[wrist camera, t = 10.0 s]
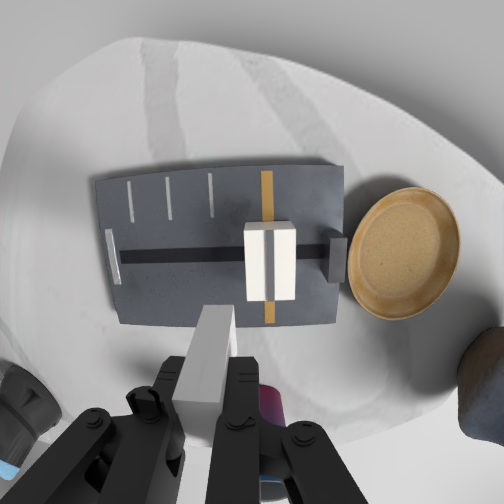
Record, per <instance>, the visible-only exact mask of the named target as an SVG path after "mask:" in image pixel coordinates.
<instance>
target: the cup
mask: <svg viewBox="0 0 504 504" xmlns="http://www.w3.org/2000/svg"><path fill="white" fill-rule="evenodd" d="M259 406H260V414H261V415H262V417H263V418H264V419H265V420H266V421H268V422H270V423H272V424H275V425H279V426H284V427H286V425H285V419H284V413H283V407H282V402H281V396H280V393H279V392H278V390H276V389H275V388H273V387H270V386H265V385H260V386H259ZM260 484H261V502H273V501H279V500H283V499H286V498H287V496H286V493H285V491H284V488H283V486H282V483H281V480H280V479H279V478H274V477H270V476H265V475H261V474H260Z"/></svg>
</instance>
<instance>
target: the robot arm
mask: <svg viewBox="0 0 504 504" xmlns="http://www.w3.org/2000/svg"><path fill="white" fill-rule="evenodd" d="M236 355H237V341H236V328H235V315H234V305H204V307H203V309H202V312H201V315H200V318H199V321H198V323H197V326H196V329H195V332H194V335H193V338H192V341H191V344H190V347H189V349H188V352H187V355H186V357H182V356H170V357H169V358H168V359H167V360H166V361H164V362H163V364H162V366H161V368H160V371H159V373H158V375H157V379H156V380H155V383H154V385H153V387H151V386H141V387H138V388H135V389H133V390H132V391H130V392H129V393H128V394H127V395H126V399H127V401H128V404H129V406H130V408H131V410H132V412H133V414H131V415H126V416H113V417H111V416H110V414H109V413H108V412H107V411H106V410H105V409H102V408H90V409H87V410H85V411H84V412H83V413H81V414H80V415H79V416H78V417H77V418H76V420H75V421H74V422H73V423H72V424H71V425H70V426H69V427H68V428H67V429H66V430H65V431H64V432H63V433H62V434H61V435H60V436H59V437H58V438H57V440H56V441H55V442H54V443H53V444H52V445H51V446H50V447H49V448H48V449H47V450H46V451H45V452H44V454H42V455H41V457H40V458H39V459H38V460H37V461H36V462H35V463H34V464H33V465H32V466H31V467H30V468H29V470H27V472H26V473H25V474H24V475H23V476H22V477H21V478H20V479H19V480H18V481H17V482H16V483H15V484H14V486H13V487H12V488H11V489H10V490H9V491H8V492H7V493H6V494H5V495H4V496H3V498H2V499H1V500H0V504H176V501H177V496H178V491H179V486H180V481H181V476H182V471H183V466H184V461H185V451H184V449H183V446H184V442H185V439H186V442H187V444H188V446H200V447H213V448H212V456H211V463H210V470H209V477H208V485H207V492H206V500H205V504H261V484H260V474H261V475H265V476H270V477H274V478H279V479H280V480H281V483H282V486H283V488H284V491H285V493H286V496H287V498H288V500H289V503H290V504H368V502H367V501H366V499H365V497H364V496H363V494H362V492H361V491H360V489H359V487H358V486H357V484H356V482H355V481H354V479H353V477H352V476H351V474H350V473H349V471H348V470H347V467H346V466H345V464H344V462H343V461H342V459H341V457H340V456H339V454H338V452H337V451H336V449H335V447H334V445H333V444H332V442H331V440H330V439H329V437H328V435H327V433H326V432H325V430H324V429H323V428H322V427H321V426H320V425H318V424H316V423H314V422H311V421H297V422H295V423H292V424H290V425H289V426H288V427H284V426H279V425H275V424H272V423H270V422H268V421H266V420H265V419H264V418H263V417H262V415H261V414H260V406H259V365H258V363H257V361H256V360H255V358H254V357H236ZM61 417H62V412H61V409H60V407H59V405H58V403H57V402H56V400H55V399H54V397H53V396H52V395H51V394H50V392H49V391H48V390H47V389H46V388H45V387H44V386H43V385H42V384H41V383H40V382H39V381H38V380H37V379H36V378H35V377H34V376H32V375H31V374H30V373H29V372H27V371H26V370H24V369H22V368H20V367H18V366H12V367H10V368H9V370H8V371H7V372H6V373H5V375H4V378H3V381H2V383H1V386H0V476H1V477H2V478H3V479H6V480H12V479H13V478H14V476H15V475H16V474H17V472H18V471H19V470H20V469H21V468H20V467H21V466H22V464H23V462H24V460H25V459H26V457H27V455H28V454H29V452H30V450H31V449H32V447H33V445H34V444H35V442H36V440H37V439H38V438H39V436H40V435H42V434H44V433H45V432H47V431H48V430H49V429H50V428H52V427H54V426H56V425H57V424H58V422H59V421H60V419H61Z"/></svg>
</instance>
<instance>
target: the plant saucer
mask: <svg viewBox="0 0 504 504" xmlns="http://www.w3.org/2000/svg"><path fill="white" fill-rule="evenodd" d="M460 245H461V240H460V230H459V226H458V222H457V219H456V217H455V215H454V212H453V211H452V209H451V208H450V206H449V205H448V203H447V202H446V201H445V200H444V199H443V198H442V197H440V196H439V195H438V194H436V193H434V192H433V191H430V190H428V189H425V188H419V187H408V188H403V189H399V190H396V191H394V192H392V193H390V194H388V195H386V196H385V197H383V198H382V199H380V200H379V201H378V202H377V203H375V204H374V205H373V206H372V207H371V209H370V210H369V211H368V212H367V213H366V215H365V216H364V217H363V219H362V220H361V222H360V224H359V225H358V227H357V229H356V232H355V234H354V236H353V239H352V242H351V245H350V250H349V255H348V279H349V283H350V287H351V290H352V292H353V294H354V297H355V298H356V300H357V301H358V303H359V304H360V305H361V306H362V307H363V308H364V309H365V310H366V311H367V312H369V313H370V314H372V315H374V316H376V317H378V318H381V319H386V320H402V319H407V318H410V317H413V316H415V315H418V314H420V313H421V312H423V311H424V310H426V309H427V308H429V307H430V306H431V305H432V304H434V303H435V302H436V301H437V300H438V299H439V297H440V296H441V295H442V294H443V293H444V291H445V290H446V288H447V287H448V285H449V283H450V282H451V280H452V278H453V276H454V274H455V271H456V268H457V265H458V261H459V256H460Z"/></svg>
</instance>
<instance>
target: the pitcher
mask: <svg viewBox="0 0 504 504" xmlns="http://www.w3.org/2000/svg"><path fill="white" fill-rule="evenodd" d="M457 383H458V421H459V426H460V428H461V430H462V431H463V433H465V435H466V436H468V437H471V438H473V439H478V440H484V441H489V442H493V443H496V444H499V445H501V446H504V327H495V328H490V329H488V330H486V331H485V332H482V333H481V334H480V335H479V336H478V338H477V339H476V340H475V341H474V342H473V343H472V344H471V345H470V346H469V347H468V349H467V350H466V352H465V354H464V355H463V357H462V359H461V361H460V364H459V367H458V374H457Z"/></svg>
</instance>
